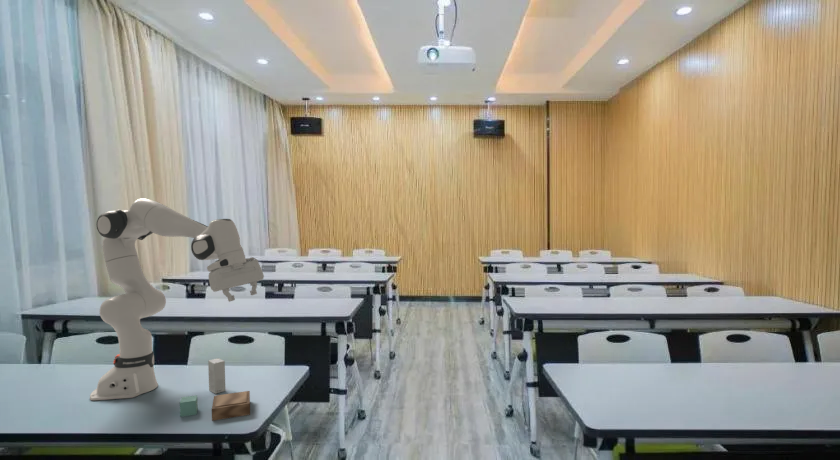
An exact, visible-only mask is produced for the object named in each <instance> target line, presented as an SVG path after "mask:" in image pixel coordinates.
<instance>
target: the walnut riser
mask: <svg viewBox="0 0 840 460" xmlns="http://www.w3.org/2000/svg"><path fill="white" fill-rule="evenodd" d="M250 394H251V392H250V390H245V391H238V392H231V393H225V394H215V395H213V400H212V405H211V421H212V422H213V421H218V420H226V419H232V418H238V417H243V416H251V395H250Z"/></svg>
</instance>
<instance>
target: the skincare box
mask: <svg viewBox="0 0 840 460" xmlns="http://www.w3.org/2000/svg"><path fill="white" fill-rule="evenodd" d="M207 362H208V363H207V365H208V369H207V370H208V391H210V392H212V394H215V395H218V394H219V393H223V392H226V361H225V360H223V359H221V358H219V357H218V358H212V359H209V360H208V361H207Z"/></svg>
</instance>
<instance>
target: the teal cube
mask: <svg viewBox="0 0 840 460" xmlns="http://www.w3.org/2000/svg"><path fill="white" fill-rule="evenodd" d="M198 403H199V402H198V395H196V394H195V395H188V396H182V397H181V398H180V400H179V417H180V418H182V417H187V416H188V417H189V416H194V415H195V416H196V415H197V413H198V408H199V407H198V405H199V404H198Z"/></svg>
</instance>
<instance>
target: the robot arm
mask: <svg viewBox="0 0 840 460" xmlns="http://www.w3.org/2000/svg"><path fill="white" fill-rule="evenodd" d="M96 229H97V232H98V234H99V235H100V236H101V237H103V239H102V252H103V258H104V263H105V265H106V270H107V274H108V276H109V280H110V282H111V283H112V284H114V285H116V286H117V287H118V286H119V287H120V288H121V289H123V292H125V293H122V294H119V295H115V296H112V297H110V298H108V299H105V300H104V301H102V303H101V305H100V306H99V316H100V318H101V320H102V321H103V322H104V323H105V324H107V325H109V326H110V327H112V328H113V329H114V332H115V333H116V335H117V340H118V348H119V349H118V350H119V354H116V355H115V356H114V359H113V367H111V368H110V369H109V370H108V371H107V372H106V373H105V374H103V375H102V376H101V377H100V378H99V379H98V382H97V386H96V388H95V389H94V390H93V391H92V392H91V393H90V395H89V399H90V401H106V400H115V399H116V400H117V399H119V400H120V399H132V398H136V397H138V396H140V395H142V394H146V393H149V392H150V391H153V390H155V389H157V388H158V386H159V382H158V381H157V380H158V379H157V378H156V375H155V374H156V373H155V368H154V365H155V355H154V354H155V353H154V351H153V339H152V338H153V336H152V333H151V331H150V330H149V329H147V328H144V327H143V326H142V324H141V319H143V318H148V317H151V316H154V315H156V314H158V313H160V312H162V311H163V310H164V309H165V307H166V303H167V300H166V296H165V294H164V293H163V292H162V291H161V290H159V289H157V288H155V287H154V286H153V285H152V284H151V283H150V282H149V280H147V279H148V278H147V277H146V276H145V274H144V272H143V269H142V266H141V263H140V260H139V257H138V253H137V249H136V245H135V244H136V241H137V240H139V241H142V240H143V241H144V240H145V239H146V238H147V237H148V236H150V235H152V234H153V233H154V234H155V235H159V236H162V237H166V238H167V237H169V238H170V237H175V238H177V237H179V238H180V237H183V238H192V241H191V244H190V245H191V246H190V250H191V253H192V255H193V256H194V258H195V259H197V260H199V261H209V260H215V261H214V262H213V263H211V264H209V265H207V267H206V270H207V271H208V272H209V273H208V282H209V287H210V289H211V291H212V292H214V293H216V292H220V291H222V293H223V295H224V296H225V297H227V299H228V300H227V301H228V302H229V303H230V302H233V301H235V300H236V299H235V295H234V294H233V295H232V294H231V293H230V291H231V290H230V289H232V288H233V289H234V288H236V287H239V286H244V285H248V284H249V285H250V287H251V290H249V292H250V296H254V295H257V294H258V293H257V288H258V287H257V286H258V282H259V281H263V280H264V278H265V275H264V272H263V269H262V268H261V265H260V262H259V260H258V259H257V258H255V257H252V256H251V257H248V258H246V255H245V252H244V248H243V247H242V246H241V239H240V234H239V231H238V228H237V225H236V224H235V222H234V221H233V220H232V219H231V218H219V219H218V218H217V219H213V220H212V221H210V222H209V224H208V225H206V224H203V223H201V222H199V221H197V220H195V219H192V218H190V217H188V216H186V215H184V214H181V213H180V212H179V211H176V210H174V209H173V208H171V207H168V206H166V205H165V204H163V203H160V202H158V201H156V200H153V199H149V198H143V197H142V198H138V199H136V200H134V201H133V202H132V204H131V205H130V208H129V209H115V210H109V211H106V212H103V213H101V214H100V215H99V216H98V217H97V220H96Z"/></svg>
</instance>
